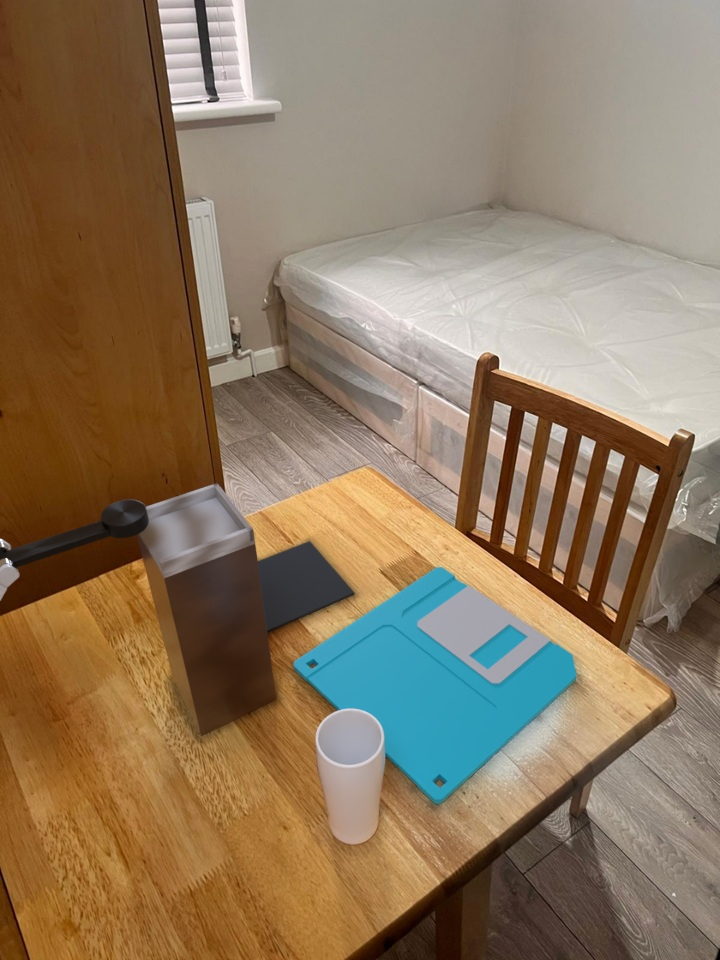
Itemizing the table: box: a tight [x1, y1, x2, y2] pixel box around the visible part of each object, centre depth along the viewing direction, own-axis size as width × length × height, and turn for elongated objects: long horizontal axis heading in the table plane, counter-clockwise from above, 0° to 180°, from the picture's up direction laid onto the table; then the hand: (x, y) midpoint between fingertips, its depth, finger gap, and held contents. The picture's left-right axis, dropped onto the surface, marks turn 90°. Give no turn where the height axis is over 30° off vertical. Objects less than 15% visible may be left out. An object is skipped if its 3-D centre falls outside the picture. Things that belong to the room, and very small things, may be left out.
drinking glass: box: [314, 709, 386, 846], centre depth 74 cm, size 7×7×15 cm
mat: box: [258, 540, 355, 633], centre depth 107 cm, size 24×14×1 cm, turn 121°
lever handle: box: [0, 499, 149, 568], centre depth 70 cm, size 18×4×2 cm, turn 121°
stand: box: [136, 482, 277, 737], centre depth 85 cm, size 10×10×28 cm
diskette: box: [293, 566, 578, 805], centre depth 95 cm, size 26×28×1 cm
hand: (10, 555), depth 68 cm, fingers closed on lever handle, 2 cm apart
